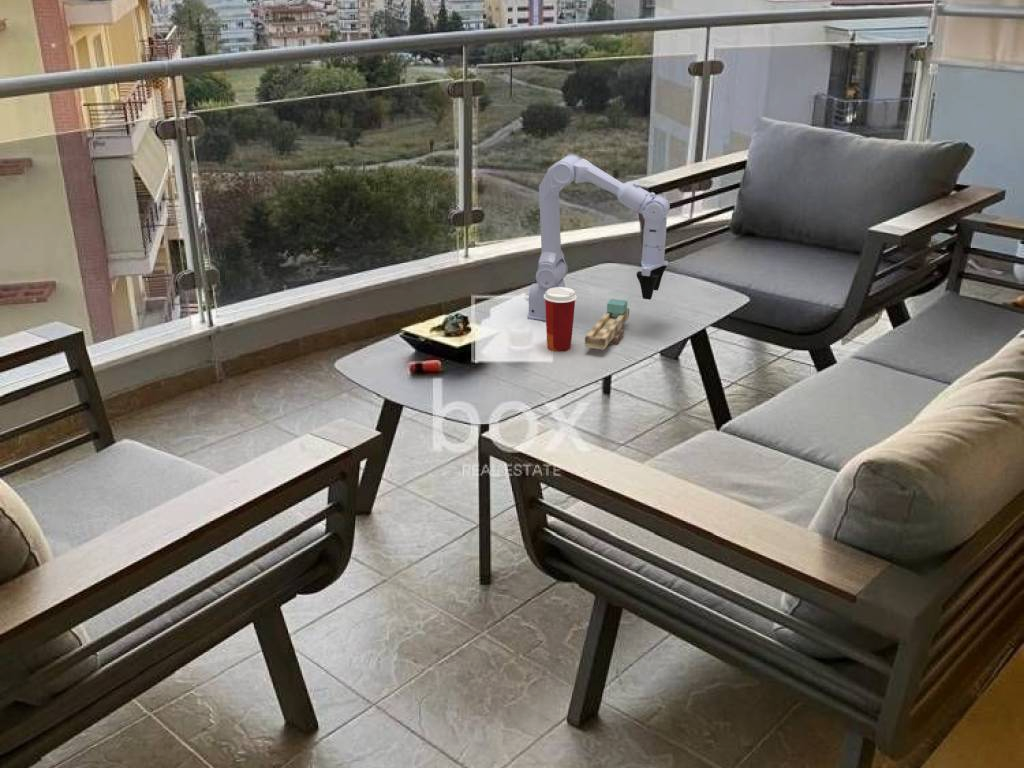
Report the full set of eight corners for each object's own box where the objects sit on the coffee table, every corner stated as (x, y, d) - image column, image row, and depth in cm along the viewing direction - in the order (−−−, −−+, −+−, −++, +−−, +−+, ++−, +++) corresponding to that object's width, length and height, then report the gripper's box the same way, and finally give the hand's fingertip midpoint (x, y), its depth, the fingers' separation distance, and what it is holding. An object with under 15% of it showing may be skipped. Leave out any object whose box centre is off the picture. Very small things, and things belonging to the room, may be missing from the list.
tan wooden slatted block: (607, 357, 252) (608, 340, 250) (580, 353, 255) (581, 336, 253) (632, 325, 273) (633, 309, 271) (607, 321, 275) (607, 305, 273)
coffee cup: (580, 345, 260) (582, 289, 253) (565, 355, 253) (567, 299, 247) (551, 338, 263) (553, 284, 257) (536, 349, 257) (537, 293, 251)
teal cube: (622, 319, 267) (623, 305, 265) (606, 316, 268) (607, 303, 267) (626, 314, 270) (627, 300, 269) (610, 312, 272) (611, 298, 270)
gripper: (662, 253, 252) (658, 305, 258) (675, 238, 265) (671, 287, 270) (635, 250, 255) (632, 301, 260) (649, 235, 267) (646, 284, 273)
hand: (650, 294), depth 266 cm, fingers open, 7 cm apart
